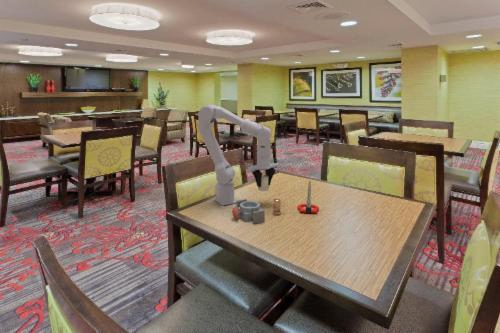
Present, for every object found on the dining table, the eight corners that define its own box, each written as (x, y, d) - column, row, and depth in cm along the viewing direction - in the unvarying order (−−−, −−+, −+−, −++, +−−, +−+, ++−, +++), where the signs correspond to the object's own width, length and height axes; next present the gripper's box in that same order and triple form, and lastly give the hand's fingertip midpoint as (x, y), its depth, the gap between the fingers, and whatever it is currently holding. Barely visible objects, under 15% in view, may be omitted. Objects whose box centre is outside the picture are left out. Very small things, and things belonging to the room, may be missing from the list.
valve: (226, 213, 134) (226, 202, 132) (249, 208, 139) (249, 197, 138) (243, 226, 121) (243, 214, 120) (268, 220, 126) (268, 208, 125)
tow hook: (297, 205, 143) (297, 213, 133) (298, 175, 140) (298, 180, 131) (318, 207, 142) (319, 214, 132) (319, 176, 139) (321, 181, 129)
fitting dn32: (271, 212, 134) (271, 199, 133) (277, 211, 136) (278, 197, 134) (275, 215, 131) (275, 201, 130) (282, 214, 133) (282, 200, 131)
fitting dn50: (256, 188, 143) (256, 175, 142) (265, 187, 146) (265, 174, 144) (261, 191, 139) (261, 178, 138) (271, 190, 141) (271, 176, 140)
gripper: (253, 159, 132) (253, 190, 135) (283, 155, 139) (282, 185, 142) (245, 155, 138) (245, 186, 141) (274, 152, 145) (273, 181, 148)
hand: (263, 185), depth 142 cm, fingers closed on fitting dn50, 4 cm apart
